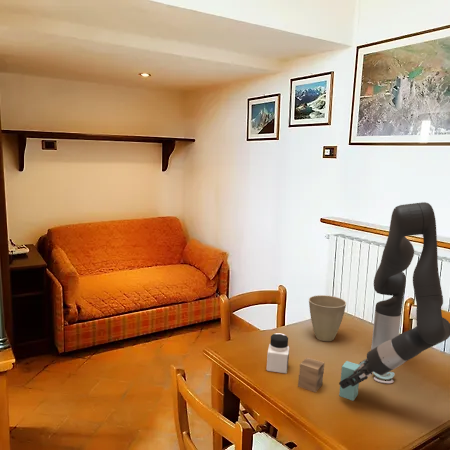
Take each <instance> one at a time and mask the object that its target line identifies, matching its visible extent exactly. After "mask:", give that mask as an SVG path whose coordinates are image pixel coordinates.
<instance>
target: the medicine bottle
mask: <svg viewBox="0 0 450 450" xmlns="http://www.w3.org/2000/svg"><path fill="white" fill-rule="evenodd" d="M269 342H270V343H269V344H268V349H267V354H266V355H267V356H266V371H267V372H275V373H278V374H279V373H281V374H287V373H288V370H289V358H290V357H289V356H290V346H289V337H288V335H286V334H284V333H279V332H278V333H273V334H272V335H270V341H269Z"/></svg>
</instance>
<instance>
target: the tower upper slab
mask: <svg viewBox="0 0 450 450" xmlns="http://www.w3.org/2000/svg"><path fill="white" fill-rule="evenodd" d="M324 371H325V362H324V361H321V360H318V359H315V358H311V357H308V356H307V357H306V358H304V360H302V362H301V363H300V364H299V373H298V377H299V376H302V377H305V378H308V379H311V380H314V381H318V380H319V378H320V377H321V376H322V375H323V376H324V374H325V372H324Z"/></svg>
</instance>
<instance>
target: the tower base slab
mask: <svg viewBox="0 0 450 450" xmlns="http://www.w3.org/2000/svg"><path fill="white" fill-rule="evenodd" d="M323 381H324V374H323V375H322V376H321V377H320V378H319V380H318V381H314V380H311V379H308V378H305V377H302V376H299V375H298V381H297V387H298V388H302V389H304V390H307V391H310V392H312V393H317V391H318V390H319V389H320V388H321V387H322V386H323Z"/></svg>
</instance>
